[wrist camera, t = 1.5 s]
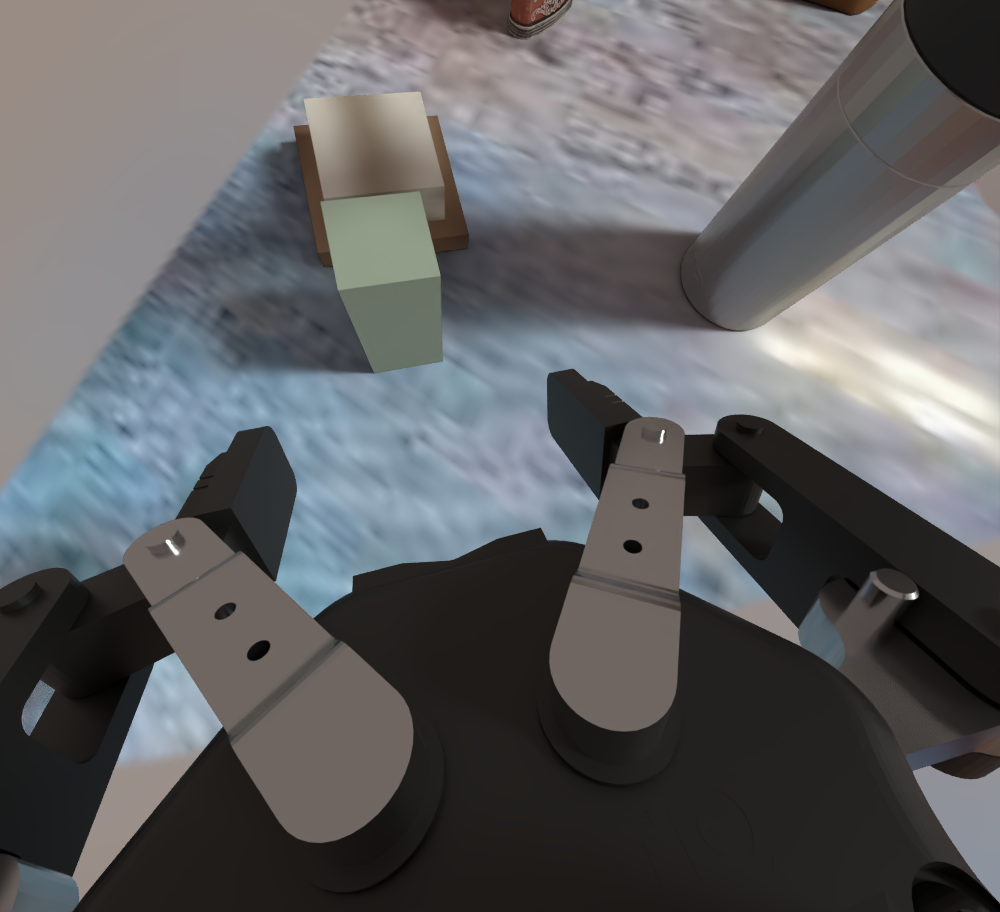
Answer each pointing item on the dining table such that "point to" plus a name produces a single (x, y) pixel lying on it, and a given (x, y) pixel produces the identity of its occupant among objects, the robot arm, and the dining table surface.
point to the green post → (387, 277)
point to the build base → (378, 161)
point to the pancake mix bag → (847, 5)
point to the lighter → (535, 16)
